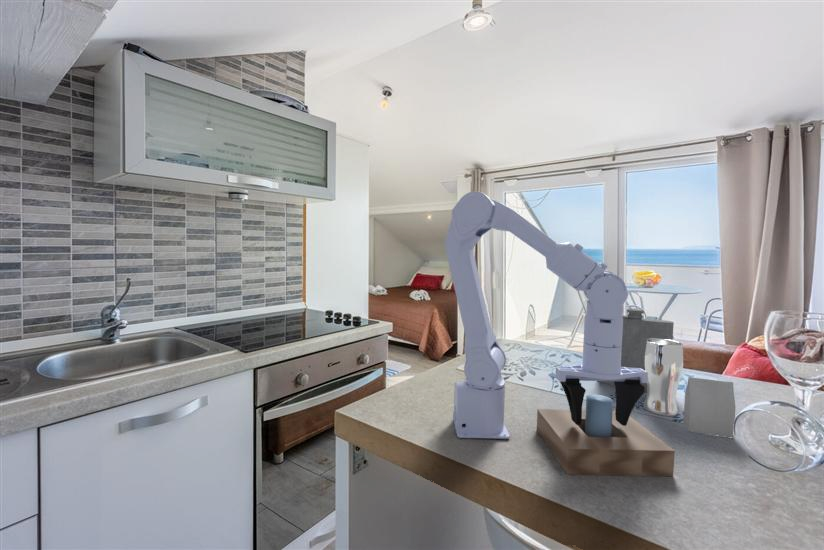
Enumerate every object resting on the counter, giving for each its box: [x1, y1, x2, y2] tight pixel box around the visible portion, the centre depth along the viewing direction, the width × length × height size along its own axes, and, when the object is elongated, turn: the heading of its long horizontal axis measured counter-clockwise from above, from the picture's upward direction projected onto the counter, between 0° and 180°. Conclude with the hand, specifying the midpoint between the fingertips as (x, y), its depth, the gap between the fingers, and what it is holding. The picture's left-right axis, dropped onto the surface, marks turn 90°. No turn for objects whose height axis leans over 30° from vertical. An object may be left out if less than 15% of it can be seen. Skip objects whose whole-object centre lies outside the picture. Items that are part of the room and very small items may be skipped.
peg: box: [585, 393, 614, 437], centre depth 62 cm, size 4×4×9 cm
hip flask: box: [598, 308, 675, 393], centre depth 93 cm, size 16×4×20 cm, turn 56°
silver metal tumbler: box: [643, 338, 684, 417], centre depth 79 cm, size 7×7×15 cm
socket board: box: [536, 408, 676, 477], centre depth 62 cm, size 16×14×4 cm
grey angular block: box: [682, 376, 737, 438], centre depth 70 cm, size 4×7×10 cm, turn 67°
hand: (598, 422), depth 62 cm, fingers open, 7 cm apart
